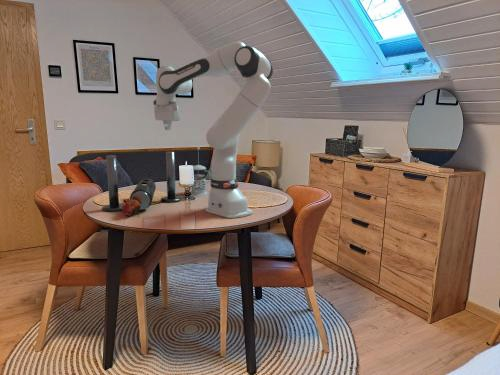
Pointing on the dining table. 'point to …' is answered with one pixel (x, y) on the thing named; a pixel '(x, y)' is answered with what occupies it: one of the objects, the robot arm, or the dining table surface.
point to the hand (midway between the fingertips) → (167, 130)
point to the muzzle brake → (144, 193)
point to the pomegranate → (131, 207)
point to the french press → (199, 189)
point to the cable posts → (113, 183)
